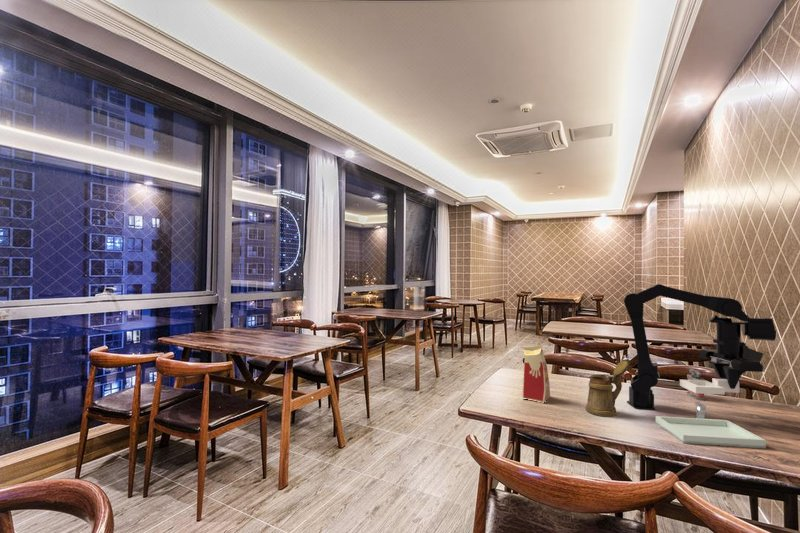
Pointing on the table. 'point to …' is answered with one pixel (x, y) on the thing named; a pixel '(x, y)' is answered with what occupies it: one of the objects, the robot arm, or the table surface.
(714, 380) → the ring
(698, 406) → the grey knob with bar
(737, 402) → the table surface
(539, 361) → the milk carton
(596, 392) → the wooden mug
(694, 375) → the lighter
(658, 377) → the robot arm
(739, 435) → the tray
